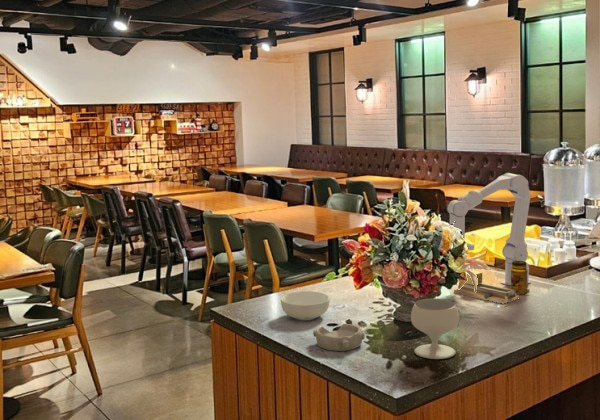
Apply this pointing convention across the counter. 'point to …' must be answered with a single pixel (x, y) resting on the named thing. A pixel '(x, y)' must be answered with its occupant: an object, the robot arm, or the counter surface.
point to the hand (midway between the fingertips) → (456, 265)
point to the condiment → (519, 277)
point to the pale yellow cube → (479, 276)
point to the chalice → (435, 325)
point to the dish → (339, 338)
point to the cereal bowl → (305, 304)
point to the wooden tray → (488, 293)
